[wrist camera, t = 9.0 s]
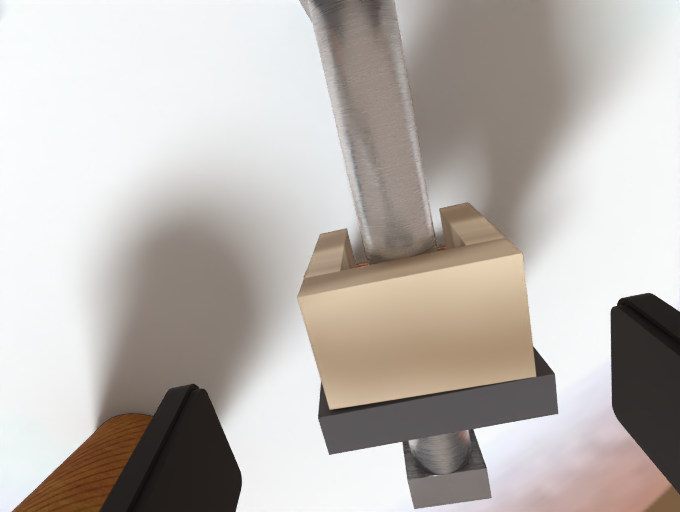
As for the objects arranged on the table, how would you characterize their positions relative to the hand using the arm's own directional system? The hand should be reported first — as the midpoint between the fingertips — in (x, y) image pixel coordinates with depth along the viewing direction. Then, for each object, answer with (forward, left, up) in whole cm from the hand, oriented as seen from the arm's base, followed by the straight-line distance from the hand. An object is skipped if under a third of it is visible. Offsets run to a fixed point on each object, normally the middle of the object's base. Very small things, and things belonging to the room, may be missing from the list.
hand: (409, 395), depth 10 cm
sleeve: (0, +1, -10) cm, 10 cm away
